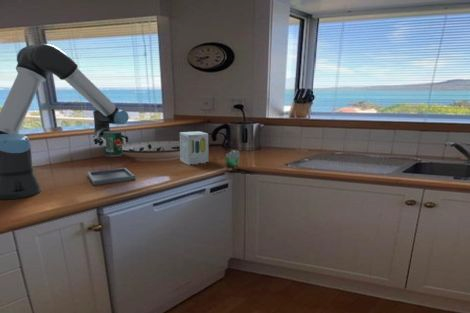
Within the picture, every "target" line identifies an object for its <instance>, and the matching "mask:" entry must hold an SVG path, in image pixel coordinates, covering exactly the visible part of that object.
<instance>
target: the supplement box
mask: <svg viewBox="0 0 470 313" xmlns="http://www.w3.org/2000/svg"><path fill="white" fill-rule="evenodd" d="M179 161H180V162H182V163H184V164H186V165H191V164H192V165H199V163H201V164H207V163H206V162H208V163H209V133H207V132H204V131H199V130H198V131H181V132H179Z"/></svg>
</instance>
